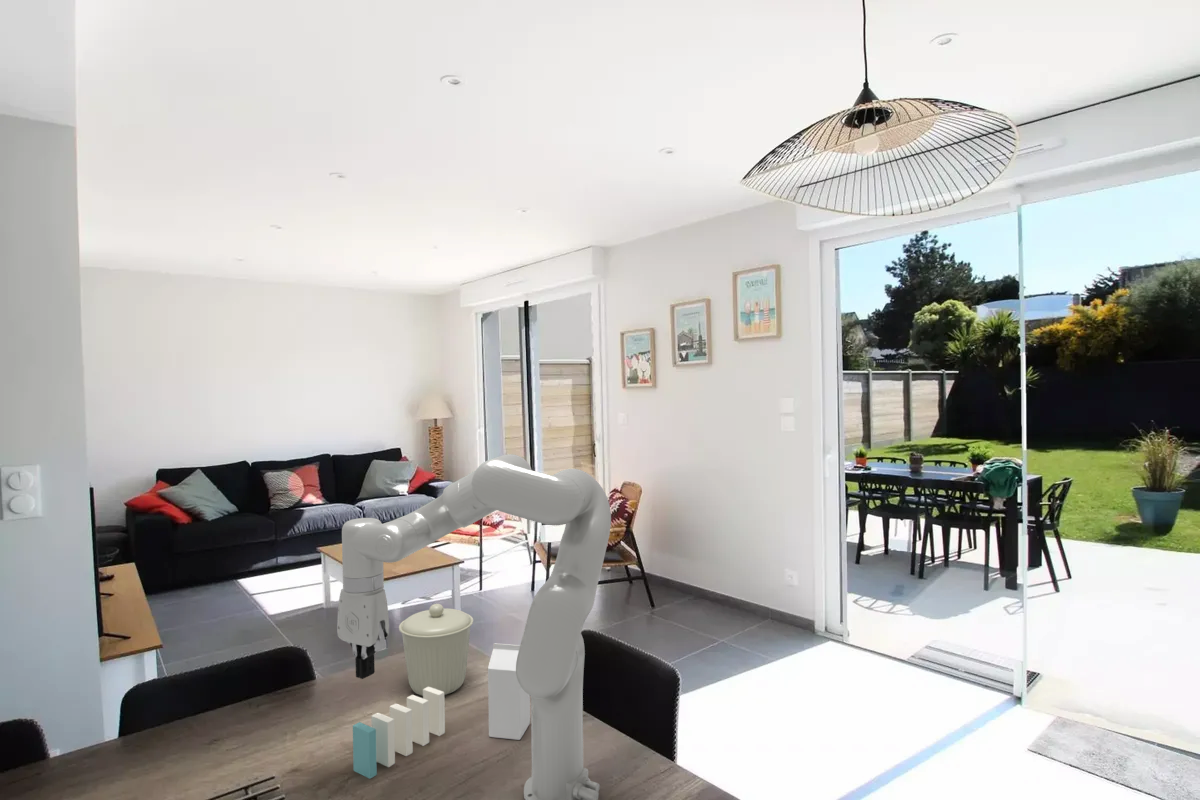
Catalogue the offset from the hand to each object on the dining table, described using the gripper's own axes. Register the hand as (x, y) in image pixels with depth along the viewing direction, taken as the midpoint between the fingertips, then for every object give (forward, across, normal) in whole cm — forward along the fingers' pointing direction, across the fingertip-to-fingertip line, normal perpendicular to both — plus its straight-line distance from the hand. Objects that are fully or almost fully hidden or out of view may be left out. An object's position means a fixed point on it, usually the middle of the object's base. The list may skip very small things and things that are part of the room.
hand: (365, 675), depth 127 cm
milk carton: (+19, +15, +26) cm, 36 cm away
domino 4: (+19, +1, +13) cm, 23 cm away
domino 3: (+19, 0, +8) cm, 21 cm away
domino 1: (+19, 0, 0) cm, 19 cm away
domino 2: (+19, 0, +4) cm, 19 cm away
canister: (+19, -13, +33) cm, 41 cm away
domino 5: (+19, +1, +17) cm, 26 cm away
